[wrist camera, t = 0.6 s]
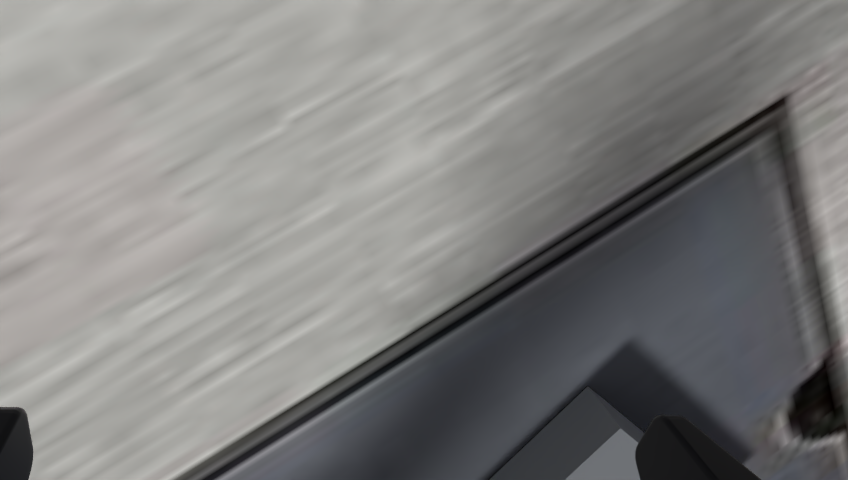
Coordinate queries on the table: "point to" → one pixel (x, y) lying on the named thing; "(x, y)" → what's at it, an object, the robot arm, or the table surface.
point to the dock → (579, 445)
